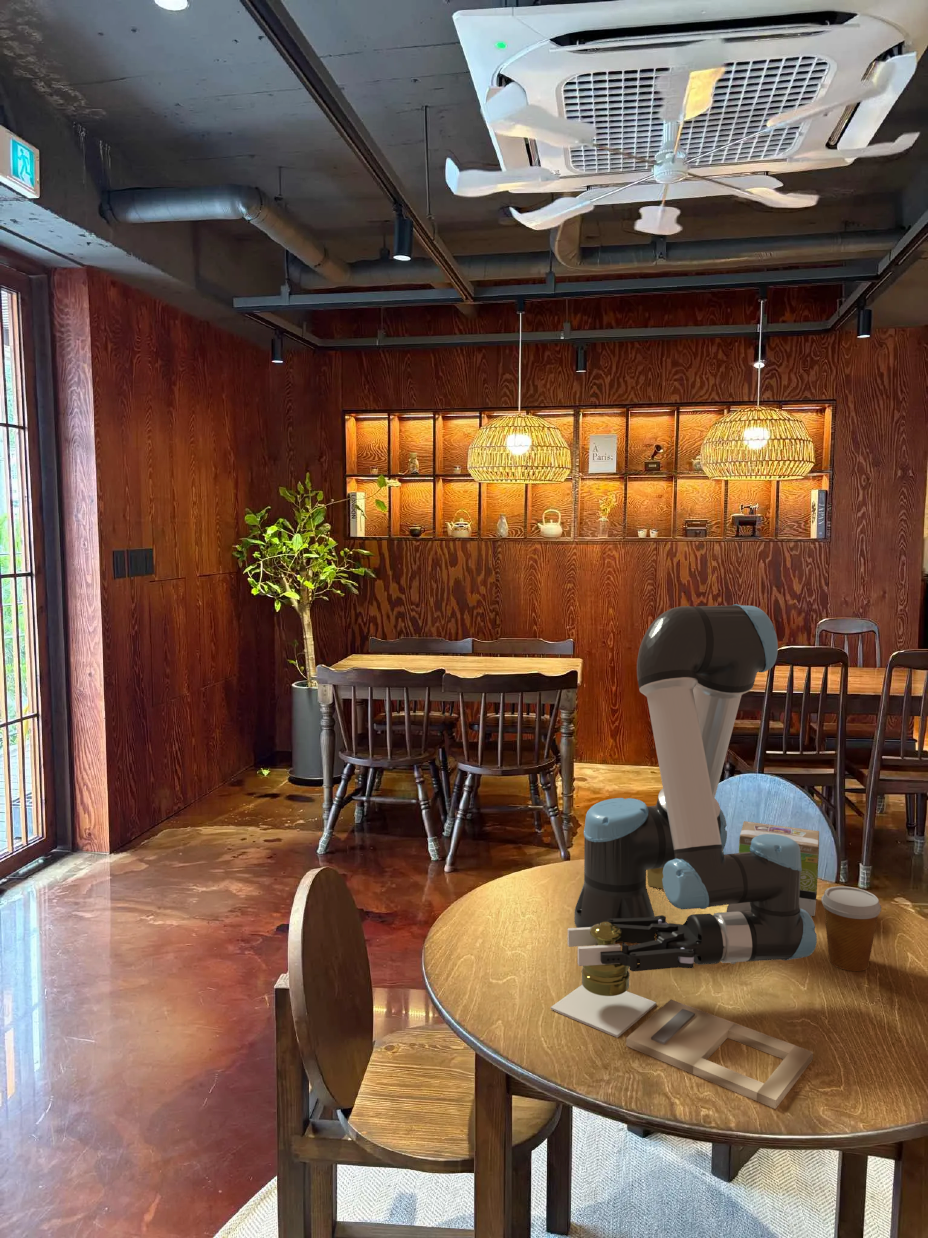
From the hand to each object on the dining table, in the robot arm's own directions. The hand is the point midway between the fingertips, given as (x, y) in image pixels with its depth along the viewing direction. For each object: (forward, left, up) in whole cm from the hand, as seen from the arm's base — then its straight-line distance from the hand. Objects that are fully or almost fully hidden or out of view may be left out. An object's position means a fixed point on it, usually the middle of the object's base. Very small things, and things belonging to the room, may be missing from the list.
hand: (573, 946), depth 137 cm
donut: (+13, +39, -11) cm, 42 cm away
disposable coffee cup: (+28, +44, -11) cm, 53 cm away
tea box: (+9, +61, -11) cm, 63 cm away
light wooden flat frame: (+22, +4, -10) cm, 25 cm away
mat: (+3, +4, -10) cm, 12 cm away
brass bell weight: (+4, +4, -7) cm, 8 cm away
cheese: (-11, +57, -11) cm, 59 cm away
